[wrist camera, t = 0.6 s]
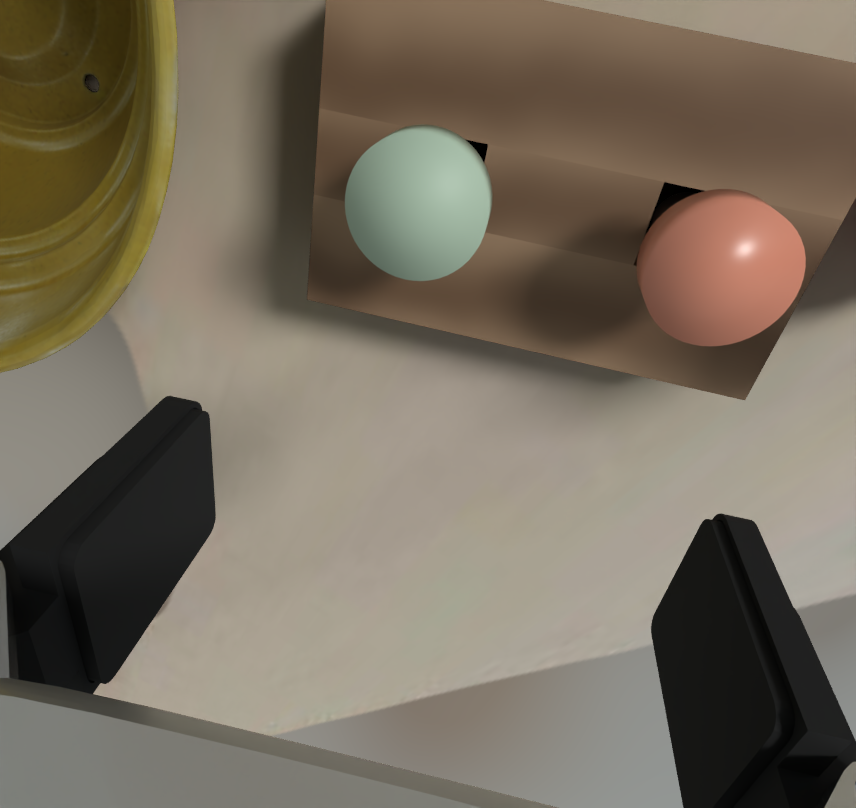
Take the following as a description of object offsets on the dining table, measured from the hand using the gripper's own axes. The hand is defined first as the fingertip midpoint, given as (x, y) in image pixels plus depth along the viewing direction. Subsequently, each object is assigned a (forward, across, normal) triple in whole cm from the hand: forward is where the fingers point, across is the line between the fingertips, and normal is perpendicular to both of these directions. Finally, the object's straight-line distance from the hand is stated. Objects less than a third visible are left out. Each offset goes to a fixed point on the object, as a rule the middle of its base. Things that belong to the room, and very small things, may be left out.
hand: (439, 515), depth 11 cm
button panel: (+24, -2, -2) cm, 25 cm away
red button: (+21, -8, -2) cm, 22 cm away
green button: (+21, +3, -2) cm, 21 cm away
